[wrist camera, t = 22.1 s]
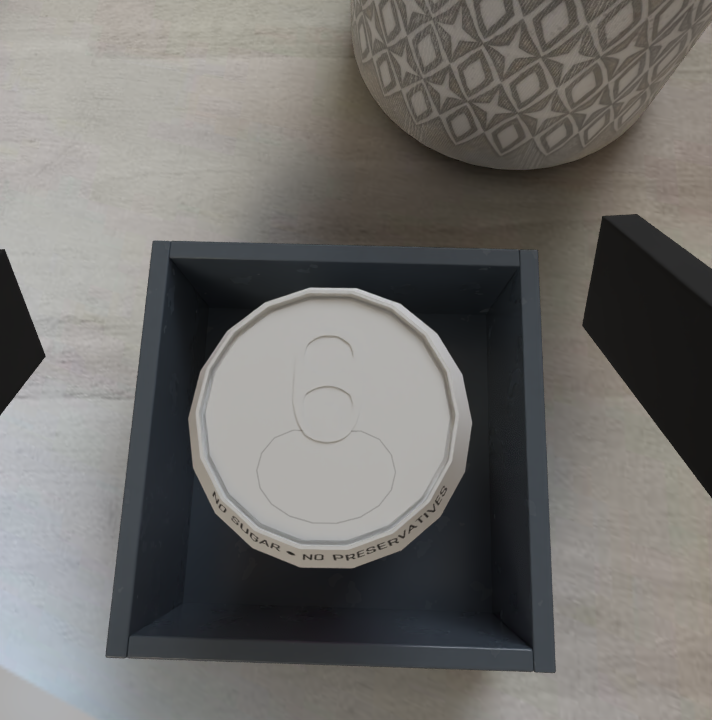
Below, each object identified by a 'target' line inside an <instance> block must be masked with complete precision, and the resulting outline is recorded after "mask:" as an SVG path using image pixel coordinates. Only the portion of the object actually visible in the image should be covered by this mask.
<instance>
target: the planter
mask: <svg viewBox="0 0 712 720" xmlns="http://www.w3.org/2000/svg"><path fill="white" fill-rule="evenodd" d="M711 21H712V0H351V34H352V42H353V49H354V55H355V58H356V61H357V64H358V67H359V71H360V74H361V76H362V78H363V80H364V82H365V84H366V86H367V88H368V89H369V91H370V93H371V95H372V97H373V98H374V99H375V101H376V102H377V103H378V104H379V106H380V107H381V108H382V110H383V111H384V112H385V113H386V115H387V116H388V117H389V118H391V119H392V120H393V121H394V122H395V123H396V124H397V125H398V126H399V127H400V128H401V129H402V130H403V131H405V132H406V133H407V134H409V135H410V136H412V137H413V138H415V139H416V140H418V141H419V142H421V143H422V144H423V145H425V146H427V147H429V148H431V149H433V150H435V151H437V152H439V153H441V154H443V155H445V156H447V157H450V158H454V159H457V160H460V161H463V162H466V163H469V164H472V165H477V166H483V167H489V168H495V169H509V170H529V169H538V168H547V167H553V166H557V165H561V164H564V163H568V162H572V161H576V160H578V159H580V158H582V157H585V156H587V155H589V154H592V153H594V152H596V151H598V150H600V149H602V148H603V147H605V146H606V145H608V144H609V143H611V142H612V141H614V140H616V139H617V138H619V137H620V136H621V135H622V134H623V133H624V132H625V131H627V130H628V129H629V128H630V127H631V126H632V125H633V124H634V123H635V122H636V121H637V120H638V119H639V117H640V116H641V115H642V114H643V112H644V111H645V110H646V108H647V107H648V106H649V105H650V103H651V102H652V101H653V99H654V98H655V96H656V95H657V94H658V92H659V91H660V90H661V88H662V87H663V86H664V84H665V83H666V82H667V80H668V79H669V78H670V76H671V75H672V74H673V72H674V71H675V70H676V68H677V67H678V66H679V64H680V63H681V62H682V60H683V59H684V58H685V56H686V55H687V54H688V52H689V51H690V49H691V48H692V47H693V45H694V44H695V43H696V41H697V40H698V39H699V37H700V36H701V35H702V33H703V32H704V31H705V29H706V28H707V27H708V25H709V24H710V23H711Z"/></svg>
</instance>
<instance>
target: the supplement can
mask: <svg viewBox="0 0 712 720" xmlns="http://www.w3.org/2000/svg"><path fill="white" fill-rule="evenodd" d="M188 422H189V432H190V442H191V452H192V462H193V469H194V471H195V473H196V475H197V477H198V479H199V481H200V483H201V485H202V487H203V489H204V491H205V493H206V495H207V498H208V500H209V502H210V504H211V506H212V508H213V510H214V512H215V514H217V515H218V516H219V517H220V518H221V519H222V520H223V521H224V522H225V523H226V524H227V525H228V526H229V527H230V528H231V529H233V530H234V531H235V532H236V533H237V534H238V535H239V536H240V537H241V538H242V539H243V540H244V541H245V542H246V543H248V544H249V545H250V546H251V547H252V548H253V549H256V550H258V551H261V552H263V553H266V554H268V555H271V556H273V557H276V558H278V559H281V560H283V561H286V562H288V563H290V564H293V565H295V566H298V567H302V568H355V567H357V566H360V565H363V564H366V563H368V562H371V561H374V560H376V559H379V558H382V557H385V556H387V555H390V554H393V553H396V552H398V551H401V550H402V549H404V548H405V547H406V546H407V545H408V544H409V543H410V542H412V541H413V540H414V539H415V538H416V537H417V536H419V535H420V534H421V533H422V532H423V531H424V530H425V529H427V528H428V527H429V526H430V525H431V524H432V523H434V522H435V521H436V520H437V519H438V518H439V517H440V516H441V515H442V513H443V511H444V509H445V507H446V505H447V504H448V502H449V500H450V498H451V496H452V495H453V493H454V491H455V489H456V487H457V485H458V484H459V482H460V480H461V478H462V476H463V474H464V473H465V468H466V461H467V454H468V447H469V441H470V434H471V427H472V419H471V414H470V410H469V405H468V400H467V395H466V390H465V385H464V380H463V376H462V373H461V372H460V370H459V368H458V367H457V365H456V363H455V362H454V360H453V359H452V357H451V355H450V354H449V352H448V350H447V349H446V347H445V345H444V344H443V342H442V341H441V339H440V337H439V336H438V334H437V333H436V332H435V331H433V330H432V329H431V328H430V327H428V326H427V325H426V324H425V323H423V322H422V321H421V320H420V319H418V318H417V317H416V316H415V315H414V314H412V313H411V312H410V311H409V310H407V309H406V308H405V307H404V306H402V305H401V304H399V303H396V302H394V301H391V300H388V299H385V298H382V297H380V296H377V295H374V294H371V293H368V292H366V291H363V290H360V289H357V288H307V289H304V290H301V291H298V292H295V293H292V294H289V295H286V296H283V297H280V298H277V299H274V300H271V301H268V302H265V303H264V304H262V305H261V306H260V307H258V308H257V309H256V310H254V311H253V312H252V313H250V314H249V315H248V316H246V317H245V318H244V319H242V320H241V321H240V322H238V323H237V324H236V325H235V326H233V327H232V328H231V329H229V330H228V331H227V332H226V333H225V335H224V336H223V338H222V339H221V341H220V342H219V344H218V345H217V347H216V348H215V350H214V351H213V353H212V354H211V356H210V357H209V359H208V360H207V362H206V363H205V365H204V366H203V368H202V369H201V371H200V374H199V378H198V382H197V386H196V390H195V394H194V398H193V402H192V406H191V410H190V414H189V417H188Z"/></svg>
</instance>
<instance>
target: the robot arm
mask: <svg viewBox="0 0 712 720" xmlns="http://www.w3.org/2000/svg"><path fill="white" fill-rule="evenodd" d="M582 326H583V327H584V329H585V330H586V331H587V333H588V334H589V335H590V337H591V338H592V339H593V341H594V342H595V343H596V345H597V346H598V347H599V349H600V350H601V351H602V353H603V354H604V355H605V357H606V358H607V359H608V361H609V362H610V363H611V365H612V366H613V367H614V369H615V370H616V371H617V373H618V374H619V375H620V377H621V378H622V379H623V381H624V382H625V383H626V385H627V386H628V387H629V389H630V390H631V391H632V393H633V394H634V395H635V397H636V398H637V399H638V401H639V402H640V403H641V405H642V406H643V407H644V409H645V410H646V411H647V413H648V414H649V415H650V417H651V418H652V419H653V421H654V422H655V423H656V425H657V426H658V427H659V429H660V430H661V431H662V432H663V434H664V435H665V436H666V438H667V439H668V440H669V442H670V443H671V444H672V446H673V447H674V448H675V450H676V451H677V452H678V454H679V455H680V456H681V458H682V459H683V460H684V462H685V463H686V464H687V466H688V467H689V468H690V470H691V471H692V472H693V474H694V475H695V476H696V478H697V479H698V480H699V482H700V483H701V484H702V486H703V487H704V488H705V490H706V491H707V492H708V494H709V495H710V496H711V498H712V269H711V268H710V267H708V266H707V265H706V264H704V263H703V262H702V261H700V260H699V259H697V258H696V257H695V256H693V255H692V254H691V253H689V252H688V251H687V250H685V249H684V248H682V247H681V246H680V245H678V244H677V243H676V242H674V241H673V240H672V239H670V238H669V237H667V236H666V235H665V234H663V233H662V232H661V231H659V230H658V229H657V228H655V227H654V226H652V225H651V224H650V223H648V222H647V221H646V220H644V219H643V218H641V217H640V216H639V215H637V214H632V215H614V216H602V221H601V227H600V232H599V238H598V243H597V248H596V254H595V259H594V265H593V270H592V276H591V281H590V286H589V292H588V297H587V303H586V308H585V313H584V319H583V324H582ZM45 357H46V356H45V353H44V351H43V348H42V345H41V343H40V340H39V338H38V335H37V332H36V330H35V327H34V324H33V322H32V319H31V317H30V314H29V311H28V309H27V306H26V304H25V301H24V298H23V296H22V293H21V291H20V288H19V285H18V283H17V280H16V278H15V275H14V272H13V270H12V267H11V264H10V262H9V259H8V257H7V254H6V251H5V249H0V415H1V414H2V412H3V411H4V410H5V408H6V407H7V406H8V404H9V403H10V402H11V401H12V399H13V398H14V397H15V395H16V394H17V393H18V392H19V390H20V389H21V388H22V386H23V385H24V384H25V382H26V381H27V380H28V379H29V377H30V376H31V375H32V373H33V372H34V371H35V369H36V368H37V367H38V366H39V364H40V363H41V362H42V360H43V359H44V358H45Z"/></svg>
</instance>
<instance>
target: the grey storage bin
mask: <svg viewBox="0 0 712 720" xmlns="http://www.w3.org/2000/svg"><path fill="white" fill-rule="evenodd" d="M307 288H357V289H360V290H363V291H366V292H368V293H371V294H374V295H377V296H380V297H382V298H385V299H388V300H391V301H394V302H396V303H399V304H401V305H402V306H404V307H405V308H406V309H407V310H409V311H410V312H411V313H412V314H414V315H415V316H416V317H417V318H418V319H420V320H421V321H422V322H423V323H425V324H426V325H427V326H428V327H430V328H431V329H432V330H433V331H435V332H436V333H437V334H438V336H439V337H440V339H441V341H442V342H443V344H444V345H445V347H446V349H447V350H448V352H449V354H450V355H451V357H452V359H453V360H454V362H455V363H456V365H457V367H458V368H459V370H460V372H461V373H462V376H463V380H464V385H465V390H466V395H467V400H468V405H469V410H470V414H471V419H472V427H471V434H470V441H469V447H468V454H467V461H466V468H465V473H464V474H463V476H462V478H461V480H460V482H459V484H458V485H457V487H456V489H455V491H454V493H453V495H452V496H451V498H450V500H449V502H448V504H447V505H446V507H445V509H444V511H443V513H442V515H441V516H440V517H439V518H438V519H437V520H436V521H435V522H434V523H432V524H431V525H430V526H429V527H428V528H427V529H425V530H424V531H423V532H422V533H421V534H420V535H419V536H417V537H416V538H415V539H414V540H413V541H412V542H410V543H409V544H408V545H407V546H406V547H405V548H404V549H402V550H401V551H398V552H396V553H393V554H390V555H387V556H385V557H382V558H379V559H376V560H374V561H371V562H368V563H366V564H363V565H360V566H357V567H355V568H302V567H298V566H295V565H293V564H290V563H288V562H286V561H283V560H281V559H278V558H276V557H273V556H271V555H268V554H266V553H263V552H261V551H258V550H256V549H253V548H252V547H251V546H250V545H249V544H248V543H246V542H245V541H244V540H243V539H242V538H241V537H240V536H239V535H238V534H237V533H236V532H235V531H234V530H233V529H231V528H230V527H229V526H228V525H227V524H226V523H225V522H224V521H223V520H222V519H221V518H220V517H219V516H218V515H217V514H215V512H214V510H213V508H212V506H211V504H210V502H209V500H208V498H207V495H206V493H205V491H204V489H203V487H202V485H201V483H200V481H199V479H198V477H197V475H196V473H195V471H194V469H193V462H192V452H191V442H190V432H189V422H188V417H189V414H190V410H191V406H192V402H193V398H194V394H195V390H196V386H197V382H198V378H199V374H200V371H201V369H202V368H203V366H204V365H205V363H206V362H207V360H208V359H209V357H210V356H211V354H212V353H213V351H214V350H215V348H216V347H217V345H218V344H219V342H220V341H221V339H222V338H223V336H224V335H225V333H226V332H227V331H228V330H229V329H231V328H232V327H233V326H235V325H236V324H237V323H238V322H240V321H241V320H242V319H244V318H245V317H246V316H248V315H249V314H250V313H252V312H253V311H254V310H256V309H257V308H258V307H260V306H261V305H262V304H264V303H265V302H268V301H271V300H274V299H277V298H280V297H283V296H286V295H289V294H292V293H295V292H298V291H301V290H304V289H307ZM106 657H107V658H126V657H128V658H134V659H163V660H193V661H223V662H252V663H282V664H312V665H341V666H371V667H401V668H430V669H460V670H489V671H519V672H532V671H534V672H540V673H555V672H556V665H555V641H554V617H553V594H552V570H551V546H550V523H549V499H548V475H547V452H546V428H545V404H544V381H543V357H542V333H541V310H540V286H539V262H538V250H522V249H521V250H518V249H480V248H440V247H399V246H358V245H318V244H277V243H237V242H196V241H171V242H170V241H153V243H152V252H151V261H150V270H149V278H148V287H147V296H146V305H145V314H144V322H143V331H142V340H141V349H140V357H139V366H138V375H137V384H136V392H135V401H134V410H133V419H132V428H131V436H130V445H129V454H128V463H127V471H126V480H125V489H124V498H123V507H122V515H121V524H120V533H119V542H118V550H117V559H116V568H115V577H114V585H113V594H112V603H111V612H110V621H109V629H108V638H107V647H106Z"/></svg>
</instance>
